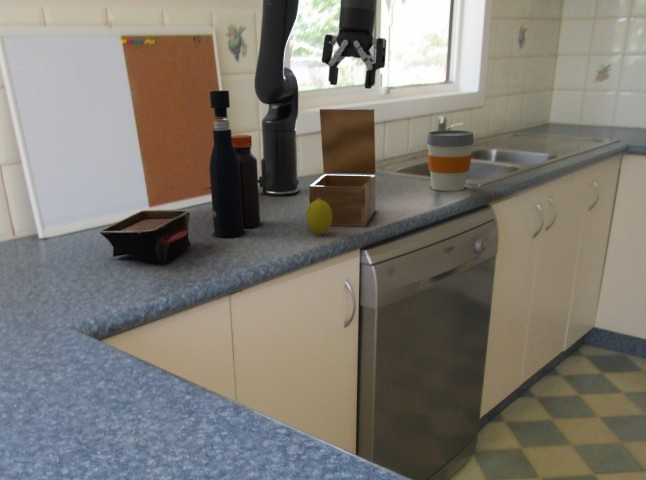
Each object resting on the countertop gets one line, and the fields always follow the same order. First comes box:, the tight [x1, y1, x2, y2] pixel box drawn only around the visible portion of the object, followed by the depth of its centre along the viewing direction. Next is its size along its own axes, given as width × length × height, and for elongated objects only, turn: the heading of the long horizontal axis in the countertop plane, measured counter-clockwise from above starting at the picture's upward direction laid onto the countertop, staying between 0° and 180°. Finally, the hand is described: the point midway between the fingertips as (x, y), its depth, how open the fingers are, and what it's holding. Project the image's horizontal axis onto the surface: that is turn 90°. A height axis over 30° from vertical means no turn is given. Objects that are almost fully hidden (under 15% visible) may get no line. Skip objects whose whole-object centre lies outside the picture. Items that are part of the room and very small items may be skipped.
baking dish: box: [99, 209, 192, 266], centre depth 132 cm, size 14×18×10 cm
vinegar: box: [231, 134, 261, 229], centre depth 149 cm, size 7×7×20 cm
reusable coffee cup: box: [426, 129, 475, 192], centre depth 183 cm, size 13×13×15 cm
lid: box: [319, 108, 377, 175], centre depth 158 cm, size 15×13×5 cm
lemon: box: [305, 199, 332, 236], centre depth 141 cm, size 6×6×8 cm
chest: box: [308, 173, 376, 227], centre depth 155 cm, size 15×13×9 cm
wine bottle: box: [209, 90, 245, 239], centre depth 140 cm, size 6×6×30 cm
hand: (350, 86), depth 147 cm, fingers open, 8 cm apart
